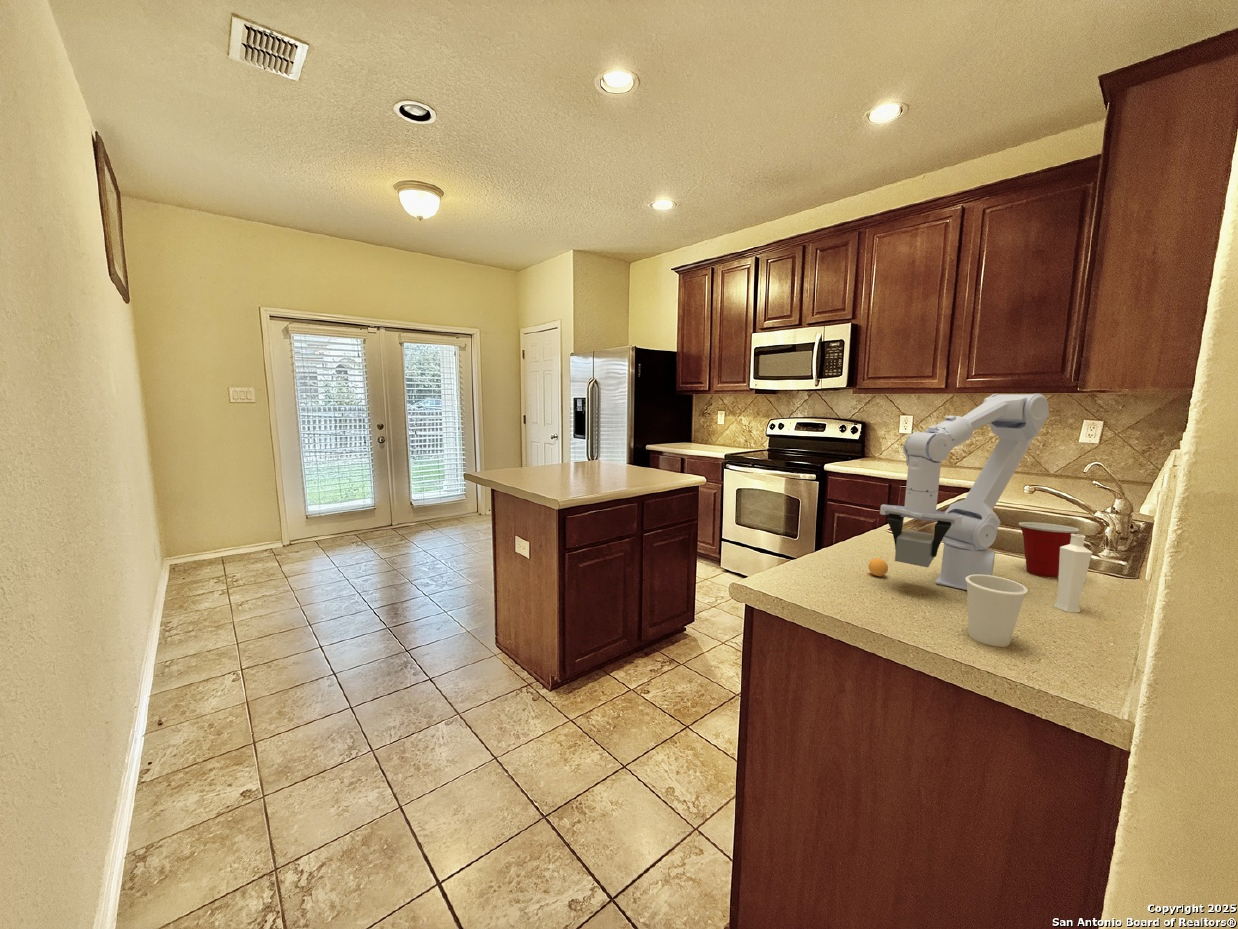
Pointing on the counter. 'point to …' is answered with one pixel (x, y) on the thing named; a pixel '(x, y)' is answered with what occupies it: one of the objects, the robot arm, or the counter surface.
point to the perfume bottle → (1072, 573)
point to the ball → (878, 567)
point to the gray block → (914, 548)
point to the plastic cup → (1044, 546)
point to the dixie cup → (993, 608)
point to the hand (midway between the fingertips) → (915, 552)
